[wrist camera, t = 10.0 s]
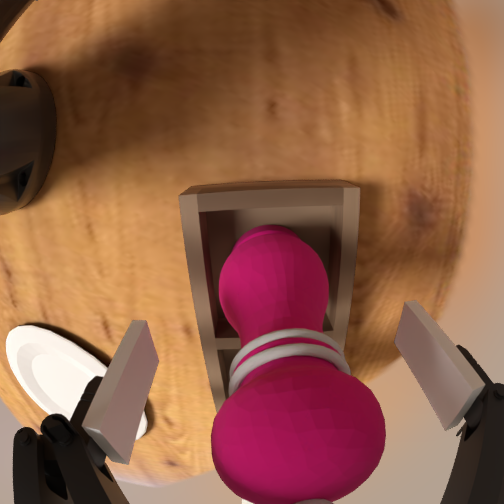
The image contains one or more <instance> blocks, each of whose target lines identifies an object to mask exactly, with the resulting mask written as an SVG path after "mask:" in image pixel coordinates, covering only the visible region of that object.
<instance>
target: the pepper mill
mask: <svg viewBox="0 0 504 504" xmlns="http://www.w3.org/2000/svg"><path fill="white" fill-rule="evenodd" d="M219 298H220V303H221V306H222V309H223V312H224V314H225V316H226V318H227V320H228V322H229V323H230V324H231V326H232V327H233V328H234V329H235V330H236V331H237V333H238V335H239V337H240V342H241V350H240V351H239V352H238V353H237V355H236V356H235V358H234V359H233V361H232V364H231V367H230V374H229V375H230V383H229V390H228V391H229V398H228V399H227V400H225V401H224V403H223V405H222V406H221V408H220V410H219V411H218V413H217V415H216V417H215V418H214V422H213V428H212V433H211V448H212V458H213V462H214V465H215V468H216V471H217V472H218V474H219V476H220V478H221V479H222V481H223V482H224V483H225V484H226V486H228V488H229V489H231V490H232V491H233V492H234V493H235V494H236V495H238V496H239V497H241V498H242V499H244V500H246V501H249V502H251V503H253V504H333V503H332V502H333V501H336V500H338V499H340V498H342V497H344V496H346V495H348V494H349V493H351V492H353V491H354V490H355V489H357V488H358V487H359V486H360V485H361V484H362V483H363V482H364V481H366V480H367V479H368V478H369V476H370V475H371V474H372V472H373V471H374V470H375V468H376V467H377V466H378V464H379V461H380V459H381V456H382V453H383V451H384V446H385V437H386V431H385V419H384V416H383V413H382V410H381V407H380V404H379V402H378V401H377V399H376V397H375V396H374V394H373V393H372V391H371V390H370V389H369V388H368V387H367V386H365V385H364V384H363V383H362V382H361V381H359V380H358V379H357V378H356V377H353V376H351V371H350V368H349V366H348V364H347V362H346V360H345V356H344V353H343V351H342V349H341V348H340V346H339V345H338V343H337V342H336V341H334V340H333V339H332V338H330V337H329V336H327V335H325V334H324V333H323V320H324V315H325V312H326V309H327V305H328V298H329V282H328V278H327V273H326V271H325V268H324V266H323V263H322V261H321V259H320V258H319V256H318V254H317V253H316V252H315V251H314V250H313V249H312V248H311V247H310V246H309V245H308V244H306V243H305V242H303V241H302V240H301V239H300V238H299V237H298V236H297V235H296V234H295V233H294V232H293V231H291V230H289V229H287V228H285V227H282V226H278V225H262V226H258V227H255V228H253V229H251V230H249V231H247V232H246V233H244V234H243V235H242V236H241V237H240V238H239V239H238V240H237V242H236V243H235V245H234V247H233V249H232V251H231V254H230V255H229V257H228V258H227V260H226V262H225V263H224V265H223V267H222V270H221V273H220V279H219Z"/></svg>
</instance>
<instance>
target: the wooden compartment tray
mask: <svg viewBox="0 0 504 504" xmlns="http://www.w3.org/2000/svg"><path fill="white" fill-rule="evenodd" d="M179 204H180V213H181V221H182V229H183V237H184V244H185V251H186V258H187V265H188V271H189V278H190V284H191V290H192V296H193V302H194V308H195V313H196V319H197V324H198V329H199V335H200V340H201V345H202V350H203V354H204V359H205V364H206V369H207V373H208V378H209V382H210V386H211V391H212V395H213V399H214V403H215V407H216V411H217V413H218V411H219V410H220V408H221V406H222V405H223V403H224V401H225V400H227V399H228V398H229V391H228V390H229V383H230V375H229V374H230V367H231V364H232V361H233V359H234V358H235V356H236V355H237V353H238V352H239V351H240V350H241V342H240V337H239V335H238V333H237V331H236V330H235V329H234V328H233V327H232V326H231V324H230V323H229V322H228V320H227V318H226V316H225V314H224V312H223V309H222V306H221V303H220V298H219V279H220V273H221V270H222V267H223V265H224V263H225V262H226V260H227V258H228V257H229V255H230V254H231V251H232V249H233V247H234V245H235V243H236V242H237V240H238V239H239V238H240V237H241V236H242V235H243V234H244V233H246V232H247V231H249V230H251V229H253V228H255V227H258V226H262V225H278V226H282V227H285V228H287V229H289V230H291V231H293V232H294V233H295V234H296V235H297V236H298V237H299V238H300V239H301V240H302V241H303V242H305V243H306V244H308V245H309V246H310V247H311V248H312V249H313V250H314V251H315V252H316V253H317V254H318V256H319V258H320V259H321V261H322V263H323V266H324V268H325V271H326V273H327V278H328V282H329V298H328V305H327V309H326V312H325V315H324V320H323V333H324V334H325V335H327V336H329V337H330V338H332V339H333V340H334V341H336V342H337V343H338V345H339V346H340V348H341V349H342V351H343V352H344V346H345V340H346V335H347V328H348V322H349V315H350V308H351V301H352V293H353V285H354V276H355V266H356V255H357V243H358V229H359V210H360V187H357V186H355V185H352V184H350V183H348V182H345V181H343V180H288V181H262V182H243V183H227V184H213V185H201V186H191V187H189V188H188V189H187V190H185V191H184V192H183V193H181V194H180V195H179Z"/></svg>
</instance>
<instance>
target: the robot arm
mask: <svg viewBox="0 0 504 504" xmlns="http://www.w3.org/2000/svg"><path fill="white" fill-rule="evenodd" d="M33 1H34V0H0V42H1V41H2V40H3V38H4V37H5V35H6V34H7V33H8V31H9V30H10V29H11V27H12V26H13V25H14V24H15V22H16V21H17V20H18V19H19V17H20V16H21V15H22V14H23V13H24V12H25V10H26V9H27V8H28V7H29V6H30V5H31V4H32V2H33ZM36 1H38V0H36ZM55 139H56V111H55V104H54V100H53V96H52V93H51V91H50V88H49V86H48V85H47V83H46V82H45V80H44V79H43V78H42V77H40V76H39V75H38V74H36V73H33V72H30V71H24V70H18V69H13V70H7V71H3V72H0V215H4V214H8V213H10V212H13V211H15V210H17V209H20V208H22V207H24V206H25V205H27V204H28V203H29V202H30V201H31V200H32V199H33V198H34V197H35V195H36V194H37V193H38V191H39V190H40V188H41V186H42V184H43V182H44V180H45V178H46V176H47V173H48V170H49V167H50V164H51V160H52V157H53V152H54V146H55ZM394 343H395V345H396V347H397V348H398V350H399V351H400V353H401V355H402V356H403V358H404V359H405V361H406V363H407V364H408V366H409V368H410V369H411V371H412V373H413V374H414V376H415V378H416V379H417V381H418V383H419V384H420V386H421V388H422V390H423V391H424V393H425V395H426V397H427V398H428V400H429V402H430V404H431V406H432V407H433V409H434V411H435V413H436V415H437V416H438V418H439V420H440V422H441V424H442V426H443V428H444V430H445V431H446V430H448V429H451V428H453V427H455V426H457V425H458V424H459V423H460V421H461V420H462V419H463V417H464V419H465V420H466V422H465V424H464V425H463V426H462V427H461V429H460V430H459V431H458V433H457V435H456V436H459V434H460V433H461V432H462V435H461V439H460V443H459V447H458V452H457V455H456V459H455V462H454V466H453V469H452V472H451V475H450V478H449V482H448V484H447V487H446V490H445V493H444V495H443V498H442V501H441V503H440V504H504V385H503V384H501V383H495V384H494V383H493V382H492V381H491V380H490V378H489V377H488V376H487V374H486V373H485V372H484V371H483V369H482V368H481V367H480V365H479V364H477V362H476V360H475V359H474V358H473V357H472V355H471V354H470V353H469V352H468V351H467V350H466V349H465V348H463V347H462V346H460V345H457V346H455V345H454V343H453V342H452V341H451V340H450V339H449V337H448V336H447V335H446V334H445V333H444V331H443V330H442V329H441V328H440V327H439V325H438V324H437V323H436V322H435V321H434V320H433V318H432V317H431V316H430V315H429V314H428V313H427V312H426V311H425V309H424V308H423V307H422V306H421V305H420V304H419V303H418V302H417V301H416V300H413V301H407V302H405V303H404V307H403V311H402V315H401V319H400V323H399V326H398V330H397V333H396V337H395V340H394ZM158 363H159V359H158V356H157V353H156V350H155V347H154V344H153V341H152V337H151V334H150V331H149V328H148V324H147V321H146V320H132V322H131V324H130V326H129V328H128V330H127V332H126V334H125V335H124V337H123V339H122V341H121V343H120V345H119V347H118V349H117V351H116V353H115V355H114V357H113V359H112V361H111V363H110V365H109V367H108V369H107V371H106V373H105V375H104V377H101V376H95V377H94V378H93V379H92V380H91V381H90V382H88V384H87V386H86V388H85V390H84V393H83V394H82V396H81V398H80V400H79V402H78V404H77V406H76V408H75V410H74V412H73V414H72V417H71V419H70V421H69V420H68V419H67V418H66V417H65V416H64V415H62V414H58V413H55V414H51V415H49V416H47V417H46V418H45V419H44V420H43V421H42V424H41V433H42V434H43V435H38V434H37V433H36V432H35V431H34V430H33V429H32V428H30V427H24V428H21V429H20V430H18V431H17V433H16V434H15V437H14V444H13V445H14V446H13V489H14V490H13V491H14V504H129V502H128V501H127V499H126V497H125V496H124V494H123V492H122V491H121V489H120V487H119V486H118V484H117V482H116V480H115V479H114V477H113V475H112V473H111V471H110V469H109V468H108V466H107V464H106V463H105V458H106V455H107V456H108V457H109V458H110V460H111V461H113V462H117V463H122V464H126V465H129V461H130V457H131V454H132V450H133V446H134V442H135V439H136V435H137V432H138V428H139V425H140V421H141V418H142V414H143V411H144V408H145V404H146V401H147V398H148V394H149V391H150V388H151V385H152V381H153V378H154V375H155V372H156V369H157V366H158Z"/></svg>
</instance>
